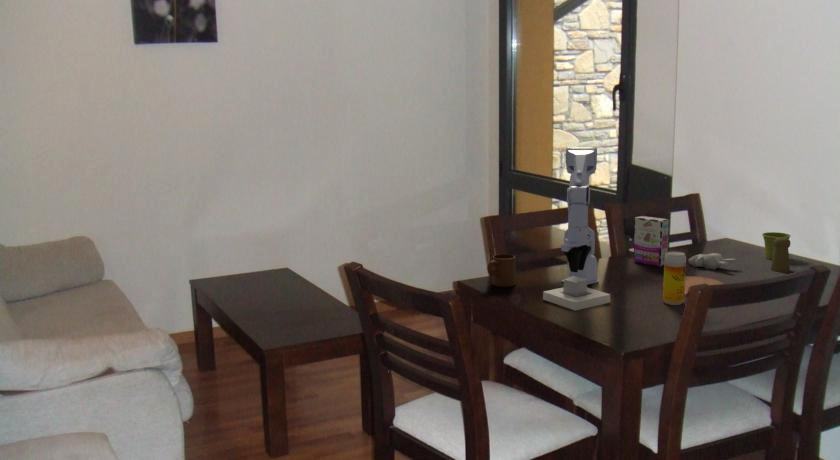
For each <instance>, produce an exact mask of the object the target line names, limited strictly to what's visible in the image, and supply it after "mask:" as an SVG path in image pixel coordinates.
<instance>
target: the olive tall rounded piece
mask: <svg viewBox="0 0 840 460" xmlns="http://www.w3.org/2000/svg"><path fill="white" fill-rule="evenodd" d="M774 246H775V250H774V255H773V259H771V260H772V261H771V265H770V270H771V271H772V272H779V273H788V272H790V270H791V268H790V257H789V256H790V253H789V248H790V246H791V240H790V238H789V239H787V238H776V239H775V240H774Z"/></svg>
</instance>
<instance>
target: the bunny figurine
mask: <svg viewBox="0 0 840 460" xmlns="http://www.w3.org/2000/svg"><path fill="white" fill-rule="evenodd" d="M730 263H737V259H736V258H723V257H722V254H721V253H716V252H712V253H708V254H703V253H699V254H696V255H693V256H691V257H690V258H688V264H690V265H691V266H692V267H695V268H699V267H701V268H704V269H706V270H717V269H720V267H727V266H729V265H730Z"/></svg>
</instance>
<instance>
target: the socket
mask: <svg viewBox="0 0 840 460" xmlns="http://www.w3.org/2000/svg"><path fill="white" fill-rule="evenodd" d="M563 289H564V286H562V287H559V288H554V289H550V290H543V291H542V300H543V301H547V302H549V303H552V304H556V305H558V306H560V307H563V308H567V309H569V310H572V311H579V310H584V309H589V308H592V307H596V306H601V305H605V304H609V303H611V294H610V293H607V292H603V291H600V290H597V289H594V288H590V287H588V286H587V293H586V294H584V296H581V297H573V296H569V295H567V294H563Z"/></svg>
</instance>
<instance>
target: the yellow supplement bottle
mask: <svg viewBox="0 0 840 460" xmlns="http://www.w3.org/2000/svg"><path fill="white" fill-rule="evenodd" d="M686 267H687V256H686V254H685V252H682V251H668V252H667V253H666V255H665V260H664V266H663V287H662V288H663V289H662V300H663V301H664V304H666V305H671V306H679V305H682V304H683V303H684V302H685V292H686V291H685V290H686V273H687V272H686V271H687V268H686Z"/></svg>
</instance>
